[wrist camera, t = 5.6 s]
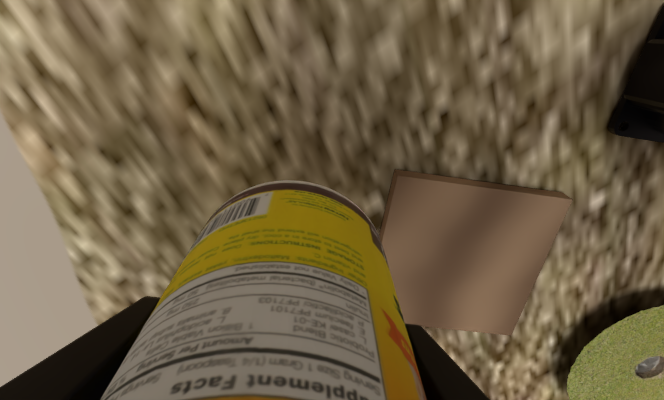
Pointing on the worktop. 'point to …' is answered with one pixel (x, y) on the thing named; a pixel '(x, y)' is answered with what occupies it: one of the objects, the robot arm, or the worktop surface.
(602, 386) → the yellow-green flat disc
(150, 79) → the worktop surface
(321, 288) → the supplement bottle
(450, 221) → the walnut board
